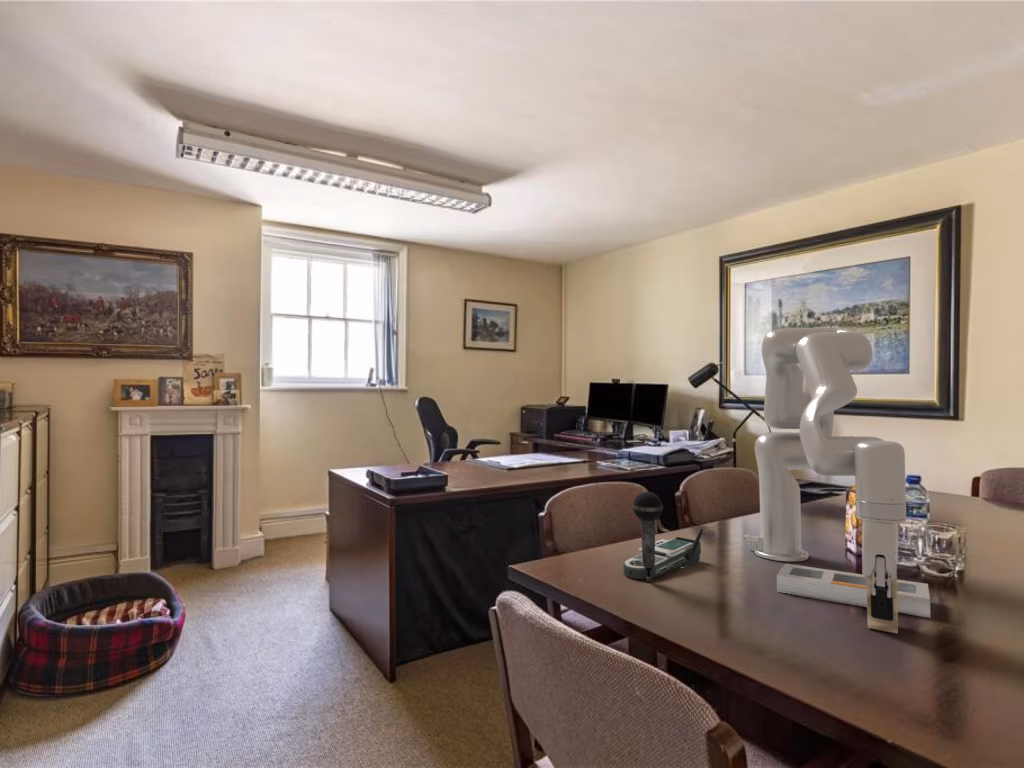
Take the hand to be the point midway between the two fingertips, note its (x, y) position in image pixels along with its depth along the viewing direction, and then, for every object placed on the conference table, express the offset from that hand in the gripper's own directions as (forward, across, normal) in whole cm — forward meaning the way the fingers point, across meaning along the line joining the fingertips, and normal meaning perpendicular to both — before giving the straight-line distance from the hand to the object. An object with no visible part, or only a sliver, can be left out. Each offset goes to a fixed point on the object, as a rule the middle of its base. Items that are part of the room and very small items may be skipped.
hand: (882, 612), depth 101 cm
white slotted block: (+3, -15, -6) cm, 16 cm away
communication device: (+4, -13, -46) cm, 48 cm away
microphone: (+3, -2, -44) cm, 44 cm away
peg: (+2, 0, 0) cm, 2 cm away
